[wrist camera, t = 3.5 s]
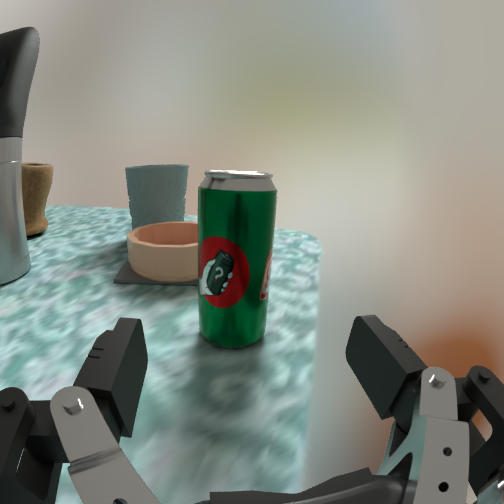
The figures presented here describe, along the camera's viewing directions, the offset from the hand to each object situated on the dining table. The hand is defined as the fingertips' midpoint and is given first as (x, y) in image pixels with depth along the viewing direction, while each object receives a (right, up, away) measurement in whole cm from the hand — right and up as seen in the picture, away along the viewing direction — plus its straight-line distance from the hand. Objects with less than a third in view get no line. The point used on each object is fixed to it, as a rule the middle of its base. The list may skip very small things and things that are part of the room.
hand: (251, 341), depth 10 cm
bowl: (-9, +2, +23) cm, 25 cm away
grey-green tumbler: (-16, +5, +34) cm, 38 cm away
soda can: (-2, -3, +11) cm, 12 cm away
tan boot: (-47, +7, +35) cm, 59 cm away
